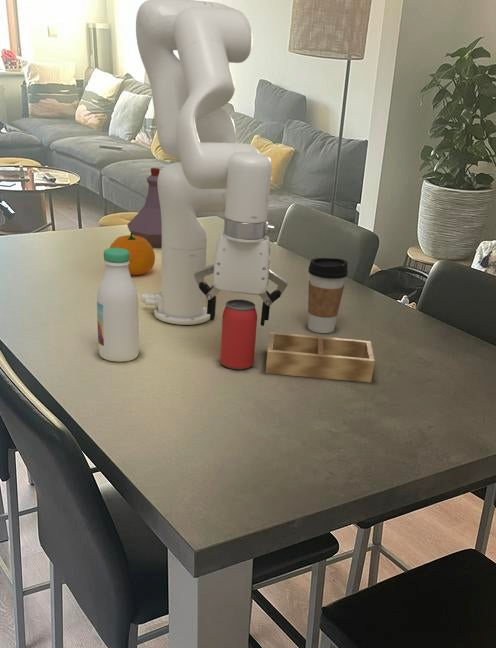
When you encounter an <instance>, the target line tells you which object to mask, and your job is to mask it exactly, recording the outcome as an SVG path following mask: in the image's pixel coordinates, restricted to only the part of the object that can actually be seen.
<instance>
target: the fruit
mask: <svg viewBox="0 0 496 648" xmlns="http://www.w3.org/2000/svg"><path fill="white" fill-rule="evenodd" d="M109 248H121V249H126V250H128V251H129V264H128V269H129V273H130V276H141V275H145V274H147V273H149V272H150V271H151V270H152V269H153V267H154V265H155V262H156V254H155V251H154V247H152V246H151V245H150V243H149V242H148V241H147V240H146V239H144V238H142V237H139V236H134V235H133V232H130V234H129V235H128V234H127V235H122V236H118V237H117V238H116V239H115V240H114V241H113V242H111V244H110V246H109Z"/></svg>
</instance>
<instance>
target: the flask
mask: <svg viewBox="0 0 496 648" xmlns="http://www.w3.org/2000/svg"><path fill="white" fill-rule="evenodd" d="M160 171H161V169H160V168H158V167H150V175H149V176H148V177H146V181H147V184H148V189H147V195H146V198H145V202H144V205H143V206H142V207H141V209H140V210H139V212H138V213H137V214H136V215H135V216H134V217H133V218H132V219H131V220H130V221H129V222H128V223H127V228H128V231H129V232H130V233H131V232H133V234H132V235H134V236H139V237H142V238H144V239H146V240H147V241H148V242H149V243H150V245H151V246H152V248H162V222H161V209H160V201H159V195H158V186H157V180H158V175H159V173H160Z"/></svg>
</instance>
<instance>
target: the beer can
mask: <svg viewBox="0 0 496 648" xmlns="http://www.w3.org/2000/svg"><path fill="white" fill-rule="evenodd" d="M221 318H222V319H221V334H220V335H221V338H220V354H219V355H220V358H219V359H220V360H219V361H220V364H221V365H222V366H224V367H225V368H227V369H230V370H231V369H232V370H238V371H239V370H247V369H249V368H251V367H252V366H253V365H254V362H255V351H256V338H257V327H258V326H257V325H258V324H257V323H258V312H257V309H256V303H254V302H253V301H250V300H247V299H239V298H238V299H230V300H227V301H226V302H225V307H224V309H223V313H222V317H221Z"/></svg>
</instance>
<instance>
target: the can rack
mask: <svg viewBox="0 0 496 648" xmlns="http://www.w3.org/2000/svg"><path fill="white" fill-rule="evenodd" d="M375 362H376V361H375V355H374V350H373V345H372V341H371V340H362V339H350V338H341V337H332V336H331V337H329V336H320V335H319V336H318V335H309V334H307V335H306V334H299V333H298V334H297V333H286V332H274V331H269V332H268V341H267V351H266V362H265V374H271V375H281V376H292V377H303V378H315V379H323V380H324V379H326V380H335V381H345V382H347V381H348V382H358V383H359V382H360V383H369V384H371V383H372V379H373V373H374V369H375Z"/></svg>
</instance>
